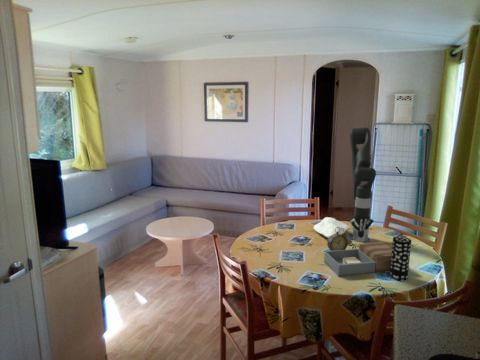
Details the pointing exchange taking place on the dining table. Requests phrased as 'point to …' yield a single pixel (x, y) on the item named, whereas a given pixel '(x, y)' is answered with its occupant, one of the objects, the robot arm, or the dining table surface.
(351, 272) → the box
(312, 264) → the dining table surface
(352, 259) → the wooden tile
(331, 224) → the crumpled cloth
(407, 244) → the white-spotted black cylinder
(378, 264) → the block
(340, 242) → the alarm clock
